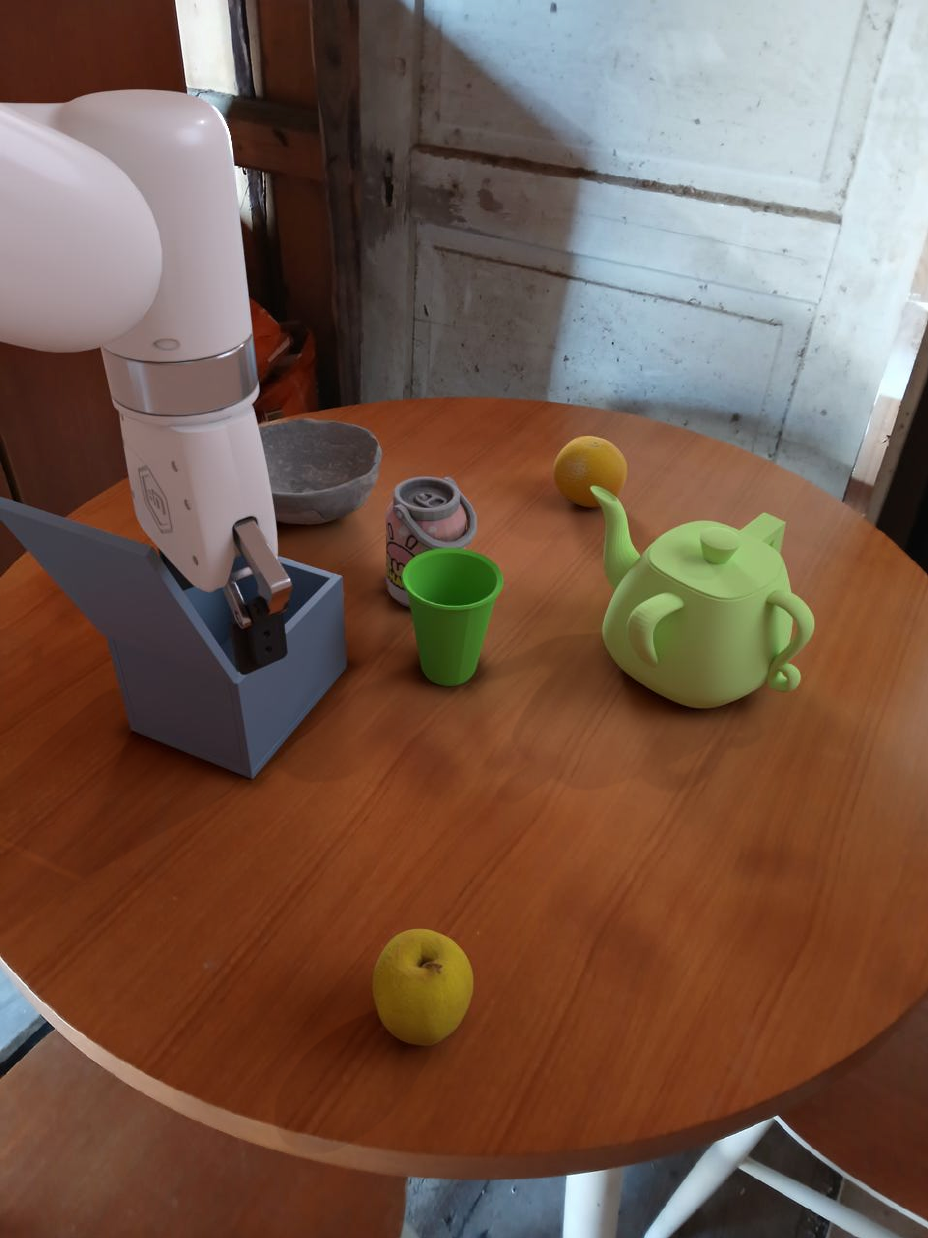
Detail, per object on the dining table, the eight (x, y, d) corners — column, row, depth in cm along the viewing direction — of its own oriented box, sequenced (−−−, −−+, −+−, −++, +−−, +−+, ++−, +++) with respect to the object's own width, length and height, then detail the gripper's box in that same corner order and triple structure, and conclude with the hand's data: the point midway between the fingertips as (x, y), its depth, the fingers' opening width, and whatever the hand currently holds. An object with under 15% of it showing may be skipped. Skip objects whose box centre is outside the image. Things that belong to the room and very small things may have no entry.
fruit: (624, 489, 114) (635, 432, 109) (617, 523, 108) (627, 464, 103) (556, 478, 116) (563, 421, 111) (544, 510, 110) (551, 451, 105)
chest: (236, 628, 90) (223, 538, 83) (347, 667, 86) (342, 575, 79) (130, 730, 79) (105, 635, 72) (252, 779, 75) (237, 684, 68)
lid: (-6, 494, 58) (-14, 503, 58) (153, 546, 54) (145, 556, 54) (107, 626, 72) (101, 635, 71) (239, 675, 68) (234, 684, 68)
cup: (474, 630, 91) (480, 540, 84) (510, 689, 85) (520, 596, 78) (389, 649, 88) (388, 556, 82) (419, 711, 82) (421, 616, 75)
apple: (469, 1069, 57) (476, 1005, 52) (368, 1065, 57) (365, 1000, 52) (471, 975, 62) (477, 908, 57) (378, 971, 62) (376, 903, 57)
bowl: (198, 525, 104) (188, 463, 99) (285, 459, 117) (279, 402, 112) (333, 568, 98) (329, 505, 93) (408, 494, 111) (408, 435, 106)
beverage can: (487, 592, 96) (494, 495, 89) (435, 629, 91) (438, 529, 84) (422, 558, 101) (423, 463, 93) (369, 592, 95) (366, 493, 88)
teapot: (807, 727, 82) (857, 603, 73) (589, 718, 82) (612, 592, 73) (758, 602, 97) (795, 485, 88) (573, 593, 97) (591, 475, 88)
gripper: (51, 329, 50) (114, 577, 61) (188, 455, 40) (235, 727, 51) (178, 302, 54) (217, 540, 65) (334, 412, 44) (349, 673, 54)
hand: (225, 622), depth 58 cm, fingers open, 9 cm apart
